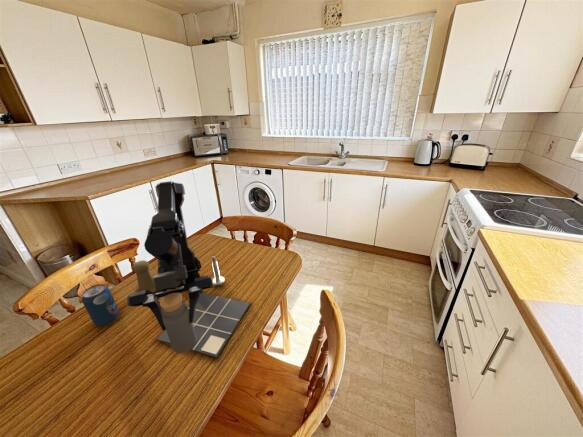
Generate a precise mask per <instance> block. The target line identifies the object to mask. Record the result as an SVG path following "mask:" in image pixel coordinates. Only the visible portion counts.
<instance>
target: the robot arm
mask: <svg viewBox="0 0 583 437" xmlns="http://www.w3.org/2000/svg"><path fill="white" fill-rule="evenodd" d="M154 188H155V191H156V193H155V194H156V197H157V212H156V213H155V214H154V215H153V216H152V217H151V222H150V225H149V226H148V230H147V235H146V238H145V241H144V244H143V246H144V249H145V251H146V252H147V253H148V254H149V255H151V256H152V257H153V258H155V259H156V260H157V274H156V275H153V281H154V286H155V288H154V291H152V290H151V291H149V290H143V291H135V292H131V293H129V294H128V296H127V297H126V298H127V299H126V302H127V307H141V306H142V307H143V308H149V310H150V311H151V312H152V314H153V315H154V316H155V318H156V321H157V323H158V324H159V327H160V329H161V330H162V332H164V331H165V330H166V329H165V326H164V323H163V319H162V317H163V314H162V312H161V308H162V307H161V306H160V301H159V300H160V298H161V299H162V298H164V297H165V296H166V295H168V294H171V293H179V294H181V293H184V292H188V291H189V292H188V293H187V294H188V305H189V317H190V323H193V319H194V313H195V308H196V304H197V301H198V298H199V295H200V294H202V293H204V291H205V290H208V289H212V288H214V286H215V285H213V278H212V276H210V275H203V276H201V275H200V270H201V269H202V267H203V266H202V263H201V260H200V259H199V258H198V256H196V254H195V251H194V250H193V249H192V248H191V247H190V246H189V241H188V236H187V230H186V225H185V221H184V220H185V219H184V215H183V210H182V206H183V204H184V202H185V195H186V191H185V186H184V184H183V183H182V182H175V181H172V180H170V181H169V180H168V181H162V182H158V183H156V185H155V186H154Z"/></svg>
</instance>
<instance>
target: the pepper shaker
mask: <svg viewBox="0 0 583 437" xmlns="http://www.w3.org/2000/svg"><path fill="white" fill-rule="evenodd" d="M132 270H133V273H135V274H136V280H137V286H138V290H139V291H143V290H149V291H152V290H155V286H154V281H153V277H154V275H153V274H152V272H151V270H150V263H149V262H148V261H147V260H145V259H144V260H143V259H142V260H138V261H136V262H134V263H133V265H132ZM139 291H138V292H139Z"/></svg>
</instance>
